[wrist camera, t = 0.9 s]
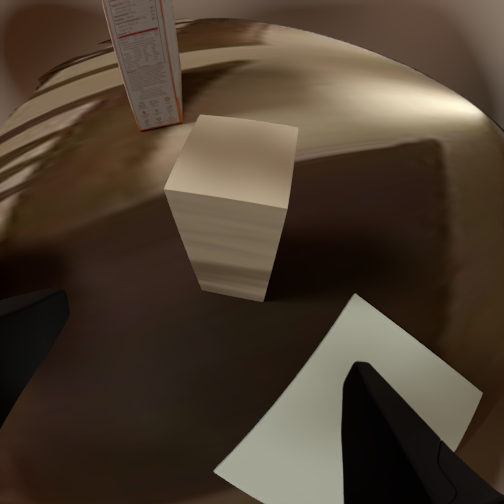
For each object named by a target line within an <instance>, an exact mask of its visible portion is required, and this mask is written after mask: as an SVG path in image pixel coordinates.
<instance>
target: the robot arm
mask: <svg viewBox="0 0 504 504" xmlns="http://www.w3.org/2000/svg"><path fill="white" fill-rule="evenodd" d="M68 317H69V307H68V301H67V295H66V292H65V291H64V290H63V289H60V288H57V287H52V288H48V289H44V290H39V291H35V292H31V293H27V294H23V295H19V296H15V297H11V298H7V299H3V300H0V429H1V427H2V425H3V423H4V421H5V420H6V418H7V416H8V414H9V413H10V411H11V409H12V407H13V406H14V404H15V402H16V401H17V399H18V397H19V396H20V394H21V393H22V391H23V389H24V388H25V386H26V385H27V383H28V382H29V380H30V378H31V377H32V375H33V374H34V372H35V371H36V369H37V368H38V366H39V365H40V363H41V362H42V361H43V359H44V358H45V356H46V355H47V353H48V352H49V350H50V348H51V347H52V345H53V343H54V341H55V340H56V338H57V336H58V334H59V333H60V331H61V329H62V328H63V326H64V324H65V323H66V321H67V319H68ZM341 445H342V464H343V501H344V504H504V495H503V494H501V493H499V492H498V491H496V490H495V489H494V488H493V487H491V486H490V485H489V484H488V483H487V482H486V481H485V480H484V479H482V478H481V477H480V476H479V475H478V474H476V473H475V472H474V471H473V470H472V469H471V468H470V467H469V466H468V465H467V464H465V463H464V462H463V461H462V460H461V459H460V458H459V457H458V456H457V455H456V454H455V453H454V452H453V451H452V450H451V449H450V448H449V447H448V446H447V445H446V443H445V442H444V441H443V440H441V438H440V437H439V436H438V435H437V434H436V433H435V432H434V431H433V430H432V429H431V428H430V426H429V425H428V424H427V423H426V422H425V421H424V420H423V419H422V418H421V417H420V416H419V415H418V414H417V413H416V412H415V411H414V410H413V408H412V407H411V406H410V405H409V404H408V403H407V402H406V401H405V400H404V399H403V398H402V397H401V396H400V395H399V394H398V393H397V392H396V390H395V389H394V388H393V387H392V386H391V385H390V384H389V383H388V382H387V381H386V380H385V379H384V378H383V377H382V376H381V375H380V374H379V373H378V372H377V371H376V369H375V368H374V367H373V366H372V365H371V364H370V363H368V362H362V361H356V362H354V363H353V365H352V367H351V369H350V371H349V373H348V375H347V376H346V378H345V380H344V383H343V391H342V418H341Z"/></svg>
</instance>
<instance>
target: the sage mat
mask: <svg viewBox="0 0 504 504" xmlns="http://www.w3.org/2000/svg"><path fill="white" fill-rule="evenodd" d="M356 361H362V362H368V363H370V364H371V365H372V366H373V367H374V368H375V369H376V371H377V372H378V373H379V374H380V375H381V376H382V377H383V378H384V379H385V380H386V381H387V382H388V383H389V384H390V385H391V386H392V387H393V388H394V389H395V390H396V392H397V393H398V394H399V395H400V396H401V397H402V398H403V399H404V400H405V401H406V402H407V403H408V404H409V405H410V406H411V407H412V408H413V410H414V411H415V412H416V413H417V414H418V415H419V416H420V417H421V418H422V419H423V420H424V421H425V422H426V423H427V424H428V425H429V426H430V428H431V429H432V430H433V431H434V432H435V433H436V434H437V435H438V436H439V437H440V438H441V440H443V441H444V442H445V443H446V445H447V446H448V447H449V448H450V449H451V450H452V451H453V452H455V450H456V448H457V447H458V445H459V443H460V441H461V439H462V437H463V435H464V433H465V431H466V429H467V427H468V425H469V423H470V421H471V419H472V417H473V415H474V413H475V411H476V408H477V406H478V404H479V401H480V399H481V397H482V394H483V393H482V392H481V391H480V390H479V389H477V388H476V387H475V386H474V385H472V384H471V383H470V382H469V381H468V380H466V379H465V378H464V377H463V376H461V375H460V374H459V373H458V372H456V371H455V370H454V369H453V368H451V367H450V366H449V365H448V364H446V363H445V362H444V361H443V360H441V359H440V358H439V357H438V356H436V355H435V354H434V353H432V352H431V351H430V350H429V349H427V348H426V347H425V346H424V345H422V344H421V343H420V342H418V341H417V340H416V339H415V338H413V337H412V336H411V335H409V334H408V333H407V332H405V331H404V330H403V329H402V328H400V327H399V326H398V325H396V324H395V323H394V322H392V321H391V320H390V319H388V318H387V317H386V316H385V315H383V314H382V313H381V312H379V311H378V310H377V309H375V308H374V307H373V306H371V305H370V304H369V303H367V302H366V301H365V300H363V299H362V298H361V297H359V296H358V295H357V294H354V295H353V296H352V297H351V299H350V300H349V302H348V303H347V305H346V306H345V308H344V310H343V311H342V313H341V314H340V316H339V317H338V319H337V320H336V322H335V323H334V325H333V326H332V327H331V329H330V330H329V332H328V333H327V335H326V336H325V338H324V339H323V340H322V342H321V343H320V345H319V346H318V347H317V349H316V350H315V352H314V353H313V354H312V356H311V357H310V358H309V360H308V361H307V363H306V364H305V365H304V367H303V368H302V369H301V371H300V372H299V373H298V374H297V376H296V377H295V378H294V380H293V381H292V382H291V383H290V385H289V386H288V387H287V389H286V390H285V391H284V392H283V394H282V395H281V396H280V397H279V398H278V400H277V401H276V402H275V403H274V405H273V406H272V407H271V408H270V409H269V411H268V412H267V413H266V414H265V415H264V416H263V418H262V419H261V420H260V421H259V422H258V423H257V424H256V426H255V427H254V428H253V429H252V430H251V431H250V432H249V433H248V435H247V436H246V437H245V438H244V439H243V440H242V441H241V442H240V443H239V444H238V445H237V447H236V448H235V449H234V450H233V451H232V452H231V453H230V454H229V455H228V456H227V457H226V458H225V459H224V460H223V461H222V462H221V463H220V464H219V465H218V466H217V467H216V468H215V469H214V472H215V473H216V474H218V475H219V476H221V477H222V478H224V479H225V480H227V481H228V482H230V483H231V484H233V485H234V486H236V487H237V488H239V489H241V490H242V491H244V492H246V493H247V494H249V495H251V496H252V497H254V498H256V499H257V500H259V501H261V502H263V503H265V504H344V501H343V464H342V445H341V418H342V391H343V383H344V380H345V378H346V376H347V375H348V373H349V371H350V369H351V367H352V365H353V363H354V362H356Z"/></svg>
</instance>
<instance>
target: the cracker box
mask: <svg viewBox="0 0 504 504" xmlns="http://www.w3.org/2000/svg"><path fill="white" fill-rule="evenodd" d="M102 3H103V7H104V12H105V16H106V20H107V23H108V28H109V31H110V35H111V39H112V43H113V47H114V50H115V54H116V58H117V61H118V65H119V68H120V72H121V75H122V78H123V82H124V85H125V88H126V91H127V95H128V98H129V101H130V104H131V107H132V110H133V113H134V116H135V119H136V123H137V126H138V128H139V131H144V130H148V129H153V128H158V127H163V126H168V125H173V124H179V123H183V111H182V77H181V65H180V58H179V51H178V43H177V36H176V28H175V20H174V12H173V3H172V0H102Z"/></svg>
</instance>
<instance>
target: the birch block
mask: <svg viewBox="0 0 504 504" xmlns="http://www.w3.org/2000/svg"><path fill="white" fill-rule="evenodd" d="M297 136H298V127H292V126H287V125H281V124H275V123H269V122H262V121H255V120H248V119H240V118H232V117H222V116H212V115H199V117H198V119H197V121H196V123H195V125H194V127H193V129H192V131H191V132H190V134H189V136H188V138H187V140H186V142H185V145H184V147H183V149H182V151H181V153H180V155H179V157H178V159H177V161H176V163H175V166H174V168H173V170H172V172H171V174H170V176H169V179H168V181H167V183H166V185H165V188H164V191H165V194H166V197H167V200H168V202H169V205H170V208H171V211H172V214H173V216H174V219H175V222H176V225H177V227H178V230H179V233H180V235H181V238H182V241H183V243H184V246H185V249H186V251H187V254H188V256H189V259H190V262H191V264H192V267H193V269H194V272H195V274H196V277H197V279H198V282H199V284H200V287H201V289H202V290H205V291H210V292H215V293H220V294H225V295H230V296H235V297H240V298H245V299H250V300H256V301H261V302H263V301H264V297H265V294H266V290H267V286H268V282H269V279H270V275H271V271H272V267H273V264H274V260H275V256H276V252H277V248H278V244H279V240H280V236H281V232H282V229H283V225H284V221H285V217H286V213H287V208H288V202H289V195H290V188H291V181H292V173H293V166H294V159H295V151H296V143H297Z"/></svg>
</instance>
